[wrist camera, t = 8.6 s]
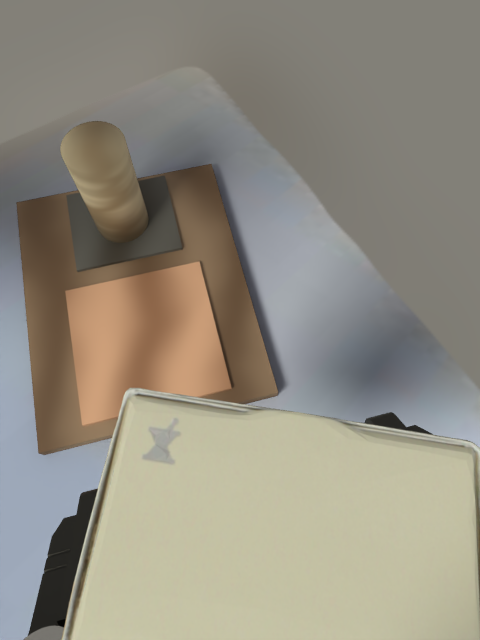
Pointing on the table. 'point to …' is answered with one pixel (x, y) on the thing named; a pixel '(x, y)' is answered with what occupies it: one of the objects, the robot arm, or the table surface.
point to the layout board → (132, 292)
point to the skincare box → (277, 529)
